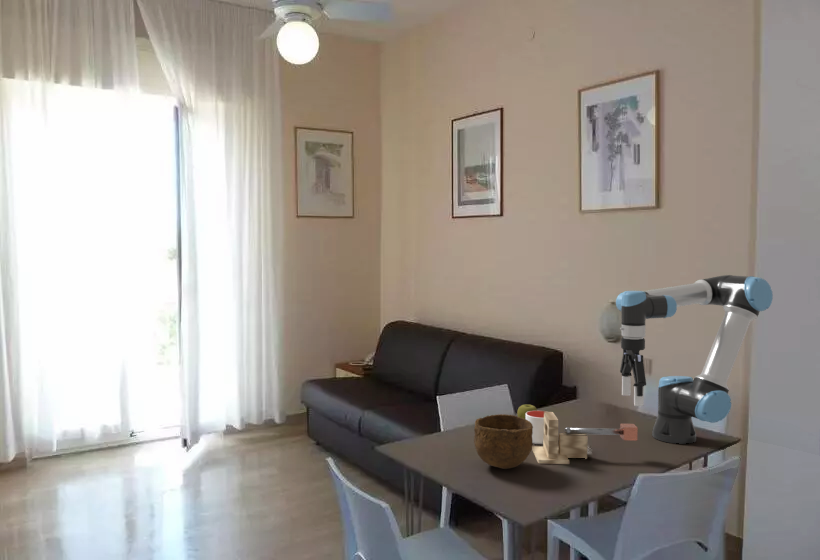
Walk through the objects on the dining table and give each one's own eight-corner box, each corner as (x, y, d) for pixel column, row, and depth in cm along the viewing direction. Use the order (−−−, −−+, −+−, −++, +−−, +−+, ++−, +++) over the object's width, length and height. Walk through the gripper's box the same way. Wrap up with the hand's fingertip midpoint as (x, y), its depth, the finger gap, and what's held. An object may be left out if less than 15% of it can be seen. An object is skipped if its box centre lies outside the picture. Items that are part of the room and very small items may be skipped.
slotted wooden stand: (581, 450, 224) (582, 411, 223) (591, 464, 210) (592, 422, 209) (532, 449, 225) (532, 410, 224) (538, 463, 211) (539, 421, 210)
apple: (538, 426, 254) (539, 408, 253) (518, 425, 254) (518, 407, 253) (535, 420, 261) (535, 403, 261) (515, 420, 261) (516, 403, 261)
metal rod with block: (633, 436, 218) (633, 423, 218) (637, 440, 214) (637, 427, 214) (562, 435, 219) (563, 422, 219) (565, 439, 215) (565, 426, 214)
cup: (553, 446, 229) (553, 418, 228) (524, 444, 231) (525, 416, 230) (552, 438, 238) (553, 411, 238) (525, 436, 240) (525, 409, 240)
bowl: (519, 482, 194) (520, 433, 193) (463, 470, 204) (464, 423, 203) (541, 464, 210) (542, 419, 209) (488, 453, 220) (489, 410, 219)
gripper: (611, 331, 227) (610, 391, 228) (633, 343, 202) (632, 410, 203) (632, 331, 226) (632, 391, 228) (657, 343, 201) (656, 410, 203)
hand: (632, 400), depth 215 cm, fingers open, 13 cm apart
